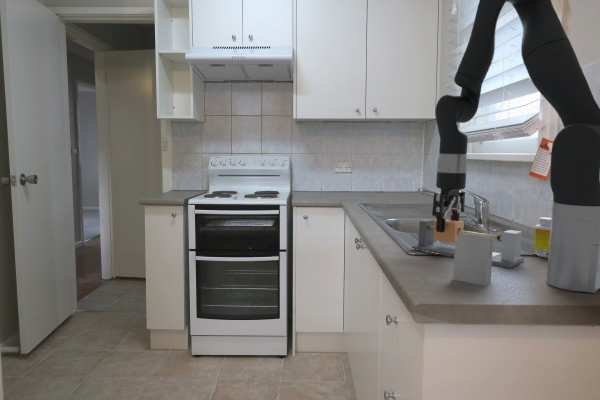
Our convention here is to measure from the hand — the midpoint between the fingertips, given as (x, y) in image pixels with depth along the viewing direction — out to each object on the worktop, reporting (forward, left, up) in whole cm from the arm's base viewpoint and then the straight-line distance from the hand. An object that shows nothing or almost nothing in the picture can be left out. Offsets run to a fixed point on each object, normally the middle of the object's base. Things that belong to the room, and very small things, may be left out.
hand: (447, 230), depth 120 cm
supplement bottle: (-20, -16, -6) cm, 27 cm away
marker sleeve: (0, 0, -3) cm, 3 cm away
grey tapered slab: (-16, +22, -6) cm, 28 cm away
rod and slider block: (-5, 0, -6) cm, 8 cm away
